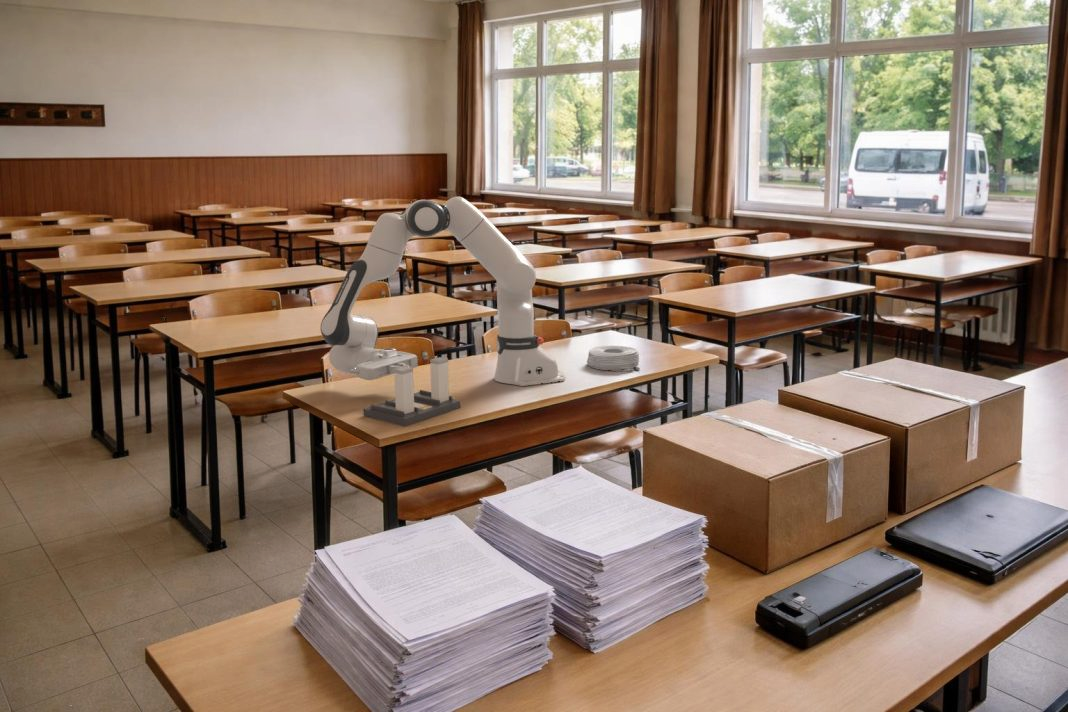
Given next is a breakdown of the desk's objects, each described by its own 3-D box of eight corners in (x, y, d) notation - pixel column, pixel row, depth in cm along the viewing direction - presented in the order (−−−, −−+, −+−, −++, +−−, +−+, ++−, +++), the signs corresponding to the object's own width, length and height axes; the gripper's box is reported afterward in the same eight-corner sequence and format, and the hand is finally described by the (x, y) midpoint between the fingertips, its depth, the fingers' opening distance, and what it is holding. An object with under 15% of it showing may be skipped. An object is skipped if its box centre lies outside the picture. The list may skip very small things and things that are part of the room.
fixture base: (363, 415, 256) (363, 404, 255) (418, 398, 273) (418, 388, 272) (405, 426, 246) (405, 414, 246) (460, 407, 264) (460, 396, 263)
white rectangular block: (395, 412, 251) (394, 369, 248) (406, 409, 254) (404, 366, 251) (403, 414, 249) (402, 370, 246) (414, 411, 252) (413, 368, 249)
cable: (641, 373, 304) (641, 355, 303) (587, 372, 304) (587, 354, 303) (636, 360, 321) (637, 343, 320) (586, 360, 321) (586, 343, 320)
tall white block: (431, 401, 262) (430, 359, 259) (440, 398, 265) (440, 357, 262) (439, 403, 260) (438, 361, 257) (448, 399, 263) (448, 358, 260)
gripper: (345, 360, 268) (380, 366, 260) (396, 347, 284) (430, 352, 276) (347, 381, 269) (381, 388, 261) (397, 367, 285) (430, 373, 277)
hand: (406, 369), depth 268 cm, fingers closed
